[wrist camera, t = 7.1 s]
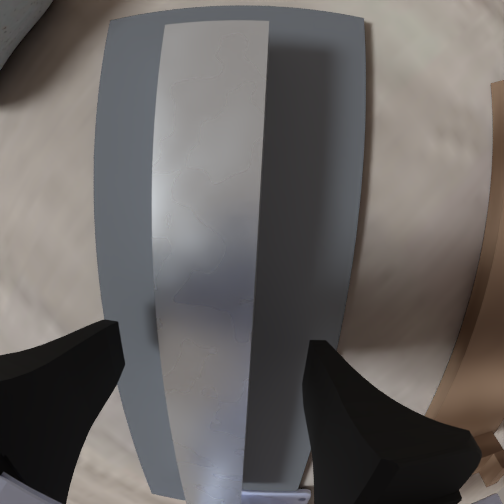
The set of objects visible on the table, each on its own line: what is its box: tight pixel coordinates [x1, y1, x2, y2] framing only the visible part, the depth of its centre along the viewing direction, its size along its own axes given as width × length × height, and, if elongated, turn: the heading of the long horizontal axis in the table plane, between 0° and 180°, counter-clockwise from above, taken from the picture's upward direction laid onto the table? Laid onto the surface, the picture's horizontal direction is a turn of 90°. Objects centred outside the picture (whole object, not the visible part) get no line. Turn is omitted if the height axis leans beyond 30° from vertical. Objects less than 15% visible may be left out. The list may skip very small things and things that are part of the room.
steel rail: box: [152, 20, 269, 504], centre depth 11 cm, size 22×3×2 cm, turn 177°
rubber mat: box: [94, 6, 366, 500], centre depth 13 cm, size 28×10×1 cm, turn 177°
